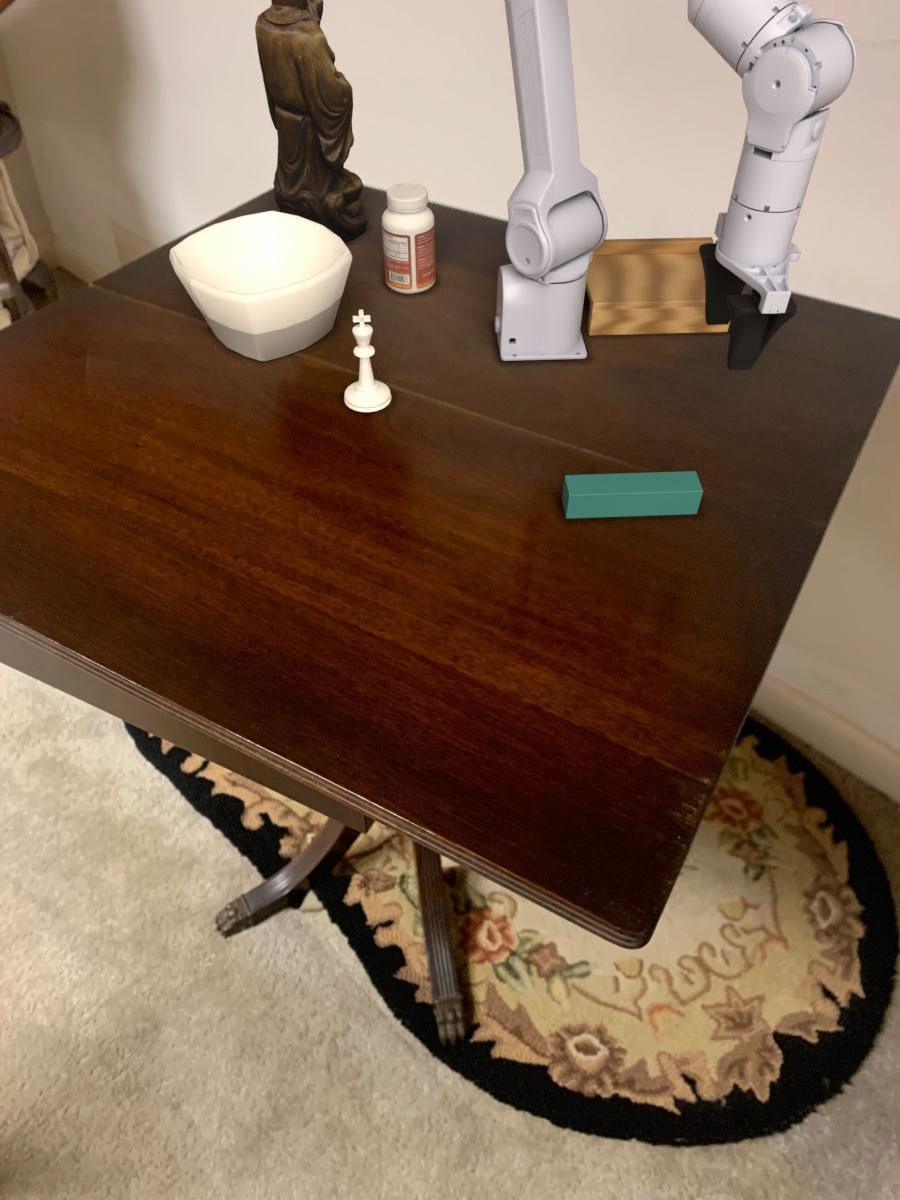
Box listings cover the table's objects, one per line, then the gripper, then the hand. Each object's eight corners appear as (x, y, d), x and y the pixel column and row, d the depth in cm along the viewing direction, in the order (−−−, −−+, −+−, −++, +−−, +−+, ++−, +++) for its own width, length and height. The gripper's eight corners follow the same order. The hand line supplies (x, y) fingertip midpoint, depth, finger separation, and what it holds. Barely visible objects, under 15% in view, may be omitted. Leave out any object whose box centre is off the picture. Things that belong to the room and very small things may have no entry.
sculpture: (387, 233, 119) (391, -38, 98) (321, 260, 112) (310, -26, 91) (319, 207, 124) (310, -56, 103) (252, 231, 117) (227, -47, 96)
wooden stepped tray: (588, 335, 101) (595, 290, 96) (573, 283, 109) (578, 239, 104) (727, 332, 101) (739, 287, 97) (701, 280, 109) (711, 236, 105)
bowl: (382, 330, 101) (377, 251, 94) (255, 393, 93) (240, 311, 86) (286, 275, 110) (276, 199, 103) (162, 328, 101) (141, 249, 94)
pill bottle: (430, 268, 111) (428, 177, 103) (440, 292, 107) (439, 200, 99) (381, 273, 110) (375, 182, 102) (389, 298, 106) (385, 205, 98)
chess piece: (344, 386, 94) (335, 298, 86) (390, 383, 94) (385, 296, 87) (344, 413, 90) (335, 325, 83) (392, 411, 91) (387, 323, 83)
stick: (565, 518, 80) (568, 495, 78) (561, 498, 82) (564, 474, 80) (696, 514, 80) (703, 490, 78) (689, 494, 82) (696, 470, 80)
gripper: (846, 237, 68) (795, 387, 78) (786, 161, 78) (747, 303, 88) (756, 239, 68) (716, 390, 78) (707, 162, 77) (677, 305, 87)
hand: (727, 344), depth 83 cm, fingers open, 7 cm apart
